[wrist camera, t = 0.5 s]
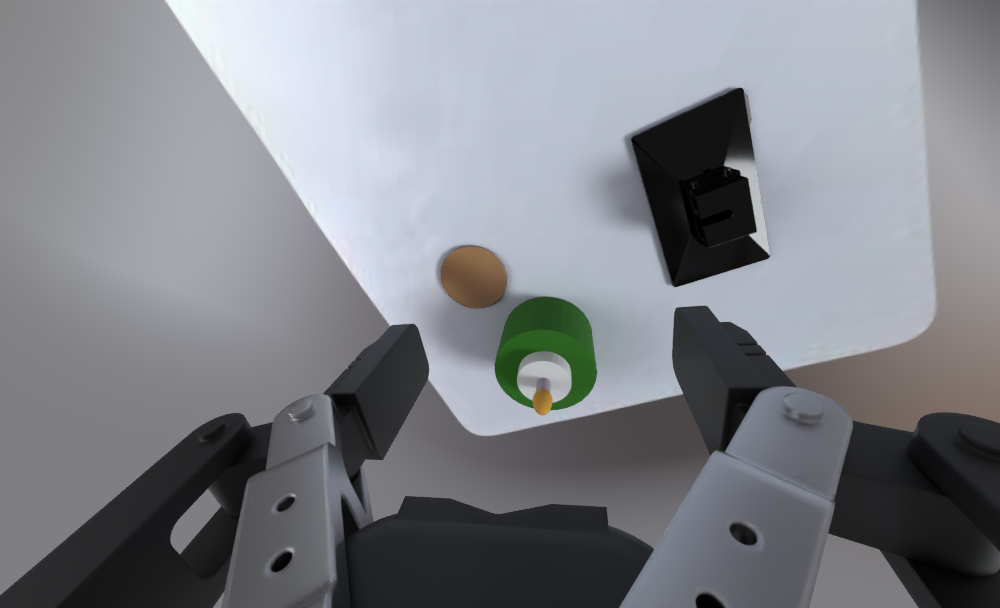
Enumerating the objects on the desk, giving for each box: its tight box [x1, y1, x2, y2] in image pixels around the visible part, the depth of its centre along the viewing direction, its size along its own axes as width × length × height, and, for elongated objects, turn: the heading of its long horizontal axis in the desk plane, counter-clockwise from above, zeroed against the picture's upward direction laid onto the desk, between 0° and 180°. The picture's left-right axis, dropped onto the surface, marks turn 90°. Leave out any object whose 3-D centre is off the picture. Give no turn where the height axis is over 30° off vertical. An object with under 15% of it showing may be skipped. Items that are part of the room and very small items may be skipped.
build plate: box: [631, 88, 770, 287], centre depth 24 cm, size 12×7×5 cm, turn 25°
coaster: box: [441, 246, 507, 308], centre depth 32 cm, size 6×6×1 cm
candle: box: [495, 297, 597, 415], centre depth 29 cm, size 8×8×10 cm
